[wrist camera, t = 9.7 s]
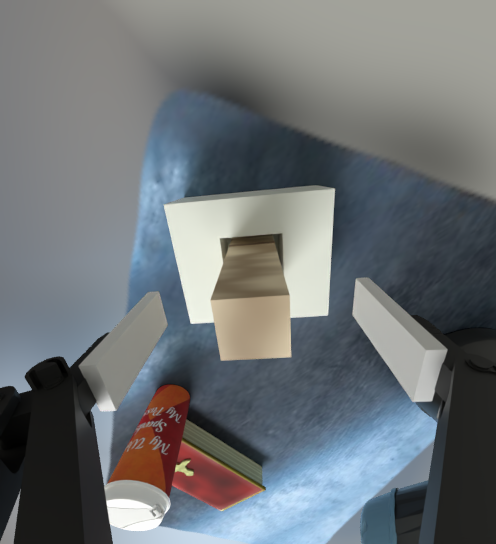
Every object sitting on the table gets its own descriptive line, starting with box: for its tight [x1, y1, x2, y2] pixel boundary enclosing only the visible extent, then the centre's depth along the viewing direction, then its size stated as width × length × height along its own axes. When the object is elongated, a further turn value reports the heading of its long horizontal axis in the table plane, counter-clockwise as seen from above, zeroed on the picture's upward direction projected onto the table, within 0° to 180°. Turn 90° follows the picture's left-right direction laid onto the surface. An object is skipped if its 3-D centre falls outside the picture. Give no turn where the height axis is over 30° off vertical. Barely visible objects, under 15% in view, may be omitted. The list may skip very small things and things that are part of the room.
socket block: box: [164, 185, 335, 324], centre depth 24 cm, size 14×12×6 cm
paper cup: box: [104, 384, 190, 531], centre depth 30 cm, size 8×8×14 cm
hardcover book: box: [172, 419, 266, 511], centre depth 41 cm, size 12×21×4 cm, turn 45°
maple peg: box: [210, 234, 291, 361], centre depth 19 cm, size 4×4×14 cm
